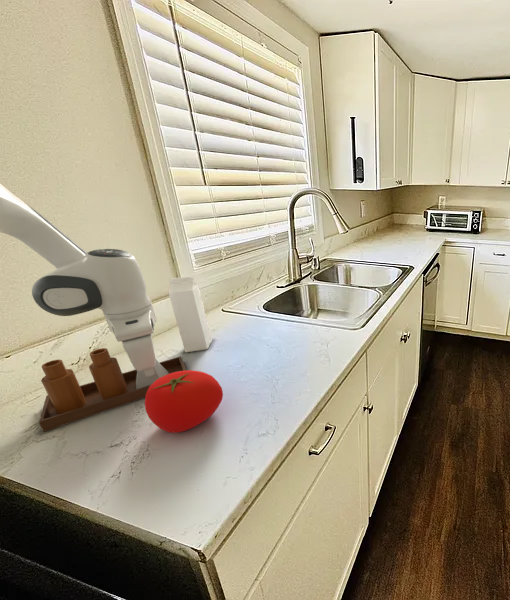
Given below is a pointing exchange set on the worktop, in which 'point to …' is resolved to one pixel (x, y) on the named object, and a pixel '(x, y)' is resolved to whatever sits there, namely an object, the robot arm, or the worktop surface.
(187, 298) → the milk
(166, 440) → the worktop surface
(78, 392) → the spice bottle
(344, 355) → the worktop surface
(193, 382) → the tomato
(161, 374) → the flask
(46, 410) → the tray
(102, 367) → the spice bottle
